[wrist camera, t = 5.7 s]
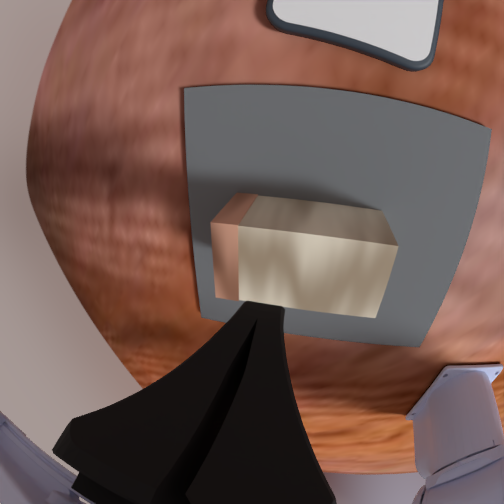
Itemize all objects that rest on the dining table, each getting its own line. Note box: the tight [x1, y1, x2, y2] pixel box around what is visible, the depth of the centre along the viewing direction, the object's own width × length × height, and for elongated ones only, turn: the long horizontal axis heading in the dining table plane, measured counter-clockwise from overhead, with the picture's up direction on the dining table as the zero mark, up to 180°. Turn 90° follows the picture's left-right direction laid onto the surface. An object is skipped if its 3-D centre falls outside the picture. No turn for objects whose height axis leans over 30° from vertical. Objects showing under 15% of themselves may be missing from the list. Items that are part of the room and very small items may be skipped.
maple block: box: [211, 193, 399, 318], centre depth 14 cm, size 4×4×8 cm
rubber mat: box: [184, 85, 492, 347], centre depth 16 cm, size 16×17×1 cm
